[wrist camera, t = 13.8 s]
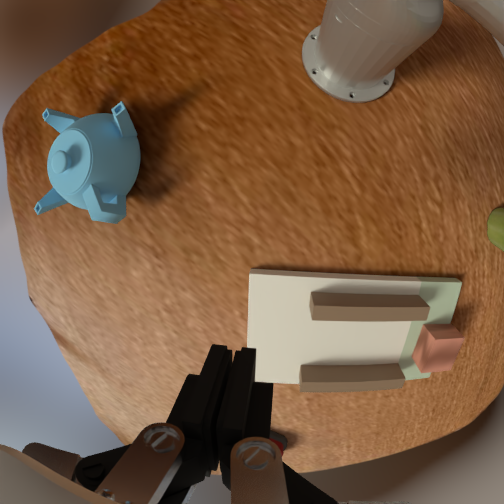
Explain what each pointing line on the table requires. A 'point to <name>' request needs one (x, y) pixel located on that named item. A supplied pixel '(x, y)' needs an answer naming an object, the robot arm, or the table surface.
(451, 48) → the table surface
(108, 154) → the teapot
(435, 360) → the block
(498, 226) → the plant pot
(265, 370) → the board with rails
